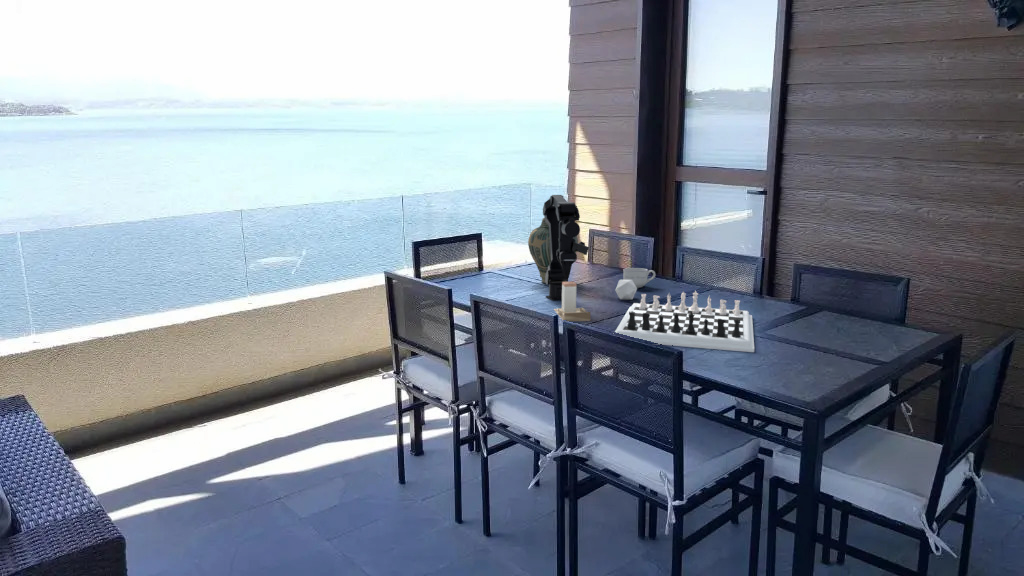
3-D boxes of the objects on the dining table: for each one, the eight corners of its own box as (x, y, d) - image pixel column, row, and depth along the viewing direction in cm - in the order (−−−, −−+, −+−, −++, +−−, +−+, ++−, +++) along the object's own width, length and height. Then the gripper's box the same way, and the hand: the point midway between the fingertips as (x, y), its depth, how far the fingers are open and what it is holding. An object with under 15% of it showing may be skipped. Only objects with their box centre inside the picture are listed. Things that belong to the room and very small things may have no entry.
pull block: (561, 309, 287) (562, 281, 285) (573, 309, 288) (573, 281, 286) (564, 312, 283) (564, 284, 281) (575, 312, 284) (576, 283, 281)
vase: (563, 289, 325) (565, 220, 319) (519, 284, 336) (519, 217, 330) (585, 280, 344) (587, 215, 338) (542, 275, 355) (543, 212, 349)
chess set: (751, 319, 279) (753, 290, 276) (753, 354, 236) (756, 320, 234) (629, 310, 291) (630, 283, 289) (611, 342, 249) (612, 310, 247)
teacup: (620, 288, 329) (621, 270, 327) (624, 283, 339) (625, 266, 337) (652, 290, 324) (653, 272, 323) (656, 285, 334) (656, 267, 333)
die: (630, 303, 303) (642, 283, 304) (612, 292, 304) (624, 272, 305) (627, 306, 311) (639, 286, 313) (609, 295, 312) (621, 275, 313)
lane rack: (553, 310, 289) (553, 301, 288) (578, 309, 290) (579, 300, 290) (563, 322, 271) (564, 313, 270) (591, 321, 272) (591, 312, 271)
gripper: (590, 237, 277) (590, 279, 279) (584, 234, 295) (584, 273, 297) (560, 237, 276) (560, 279, 279) (556, 234, 295) (556, 273, 297)
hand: (566, 276), depth 288 cm, fingers open, 9 cm apart
